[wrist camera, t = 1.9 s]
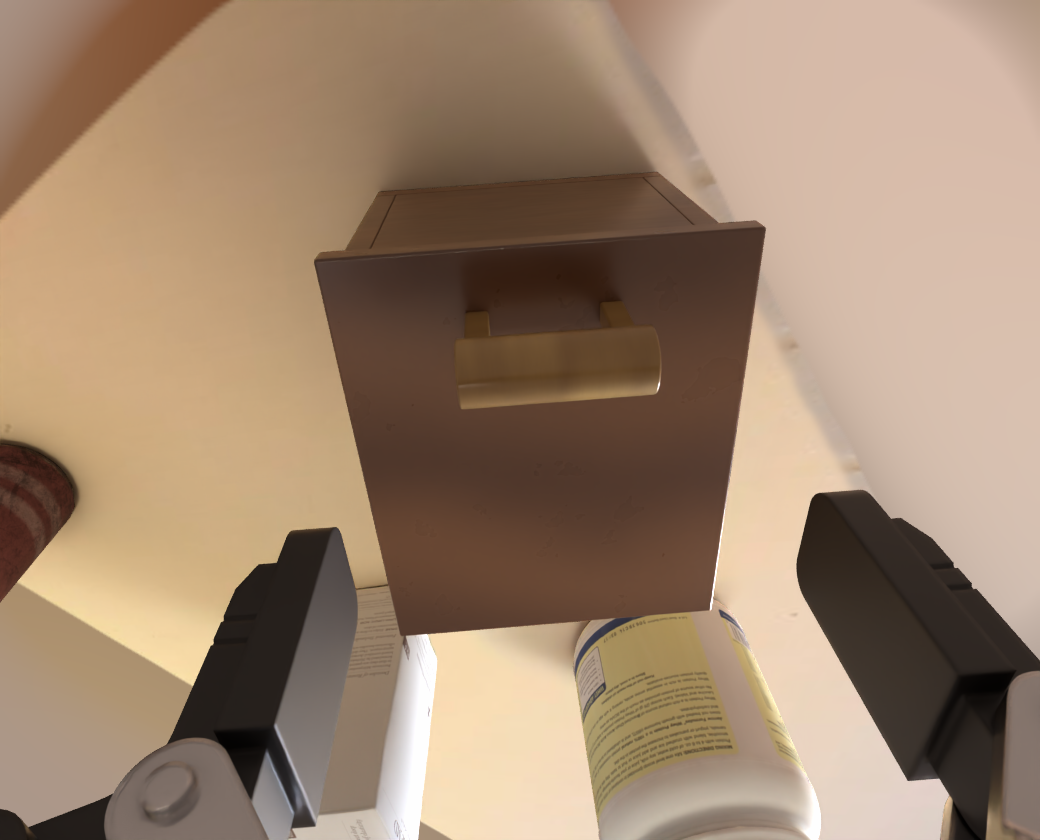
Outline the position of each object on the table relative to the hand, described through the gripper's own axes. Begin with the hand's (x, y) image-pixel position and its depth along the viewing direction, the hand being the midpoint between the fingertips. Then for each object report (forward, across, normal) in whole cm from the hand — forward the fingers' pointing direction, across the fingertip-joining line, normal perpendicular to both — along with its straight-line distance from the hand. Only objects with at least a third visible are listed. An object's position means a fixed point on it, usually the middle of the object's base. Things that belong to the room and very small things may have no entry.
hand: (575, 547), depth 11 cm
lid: (+11, 0, +5) cm, 12 cm away
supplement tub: (+23, -8, +31) cm, 39 cm away
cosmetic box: (+23, +11, +27) cm, 37 cm away
